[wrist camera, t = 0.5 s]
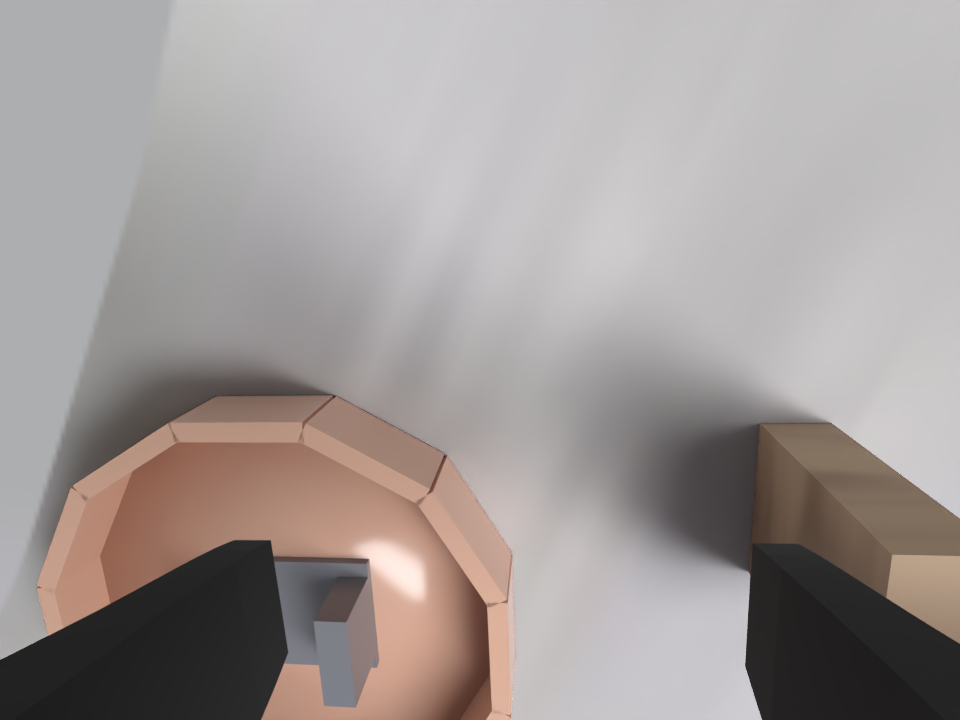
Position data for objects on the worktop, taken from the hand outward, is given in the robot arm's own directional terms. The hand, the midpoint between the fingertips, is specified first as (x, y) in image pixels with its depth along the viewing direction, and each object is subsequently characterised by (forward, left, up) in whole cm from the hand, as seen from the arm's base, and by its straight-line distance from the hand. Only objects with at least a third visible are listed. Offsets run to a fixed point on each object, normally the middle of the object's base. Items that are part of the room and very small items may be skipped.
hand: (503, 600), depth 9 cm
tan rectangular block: (-3, -8, -10) cm, 13 cm away
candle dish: (-7, +8, -10) cm, 14 cm away
